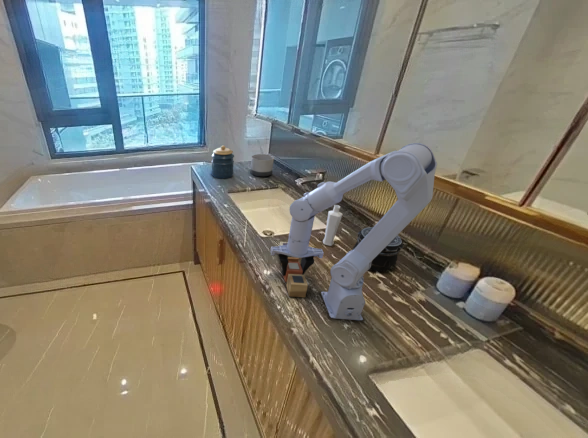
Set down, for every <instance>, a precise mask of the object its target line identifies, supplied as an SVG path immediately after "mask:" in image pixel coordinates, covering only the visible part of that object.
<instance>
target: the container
mask: <svg viewBox="0 0 588 438" xmlns="http://www.w3.org/2000/svg"><path fill="white" fill-rule="evenodd" d="M373 227H374V226H373ZM373 227H371V226H370V227H364V228H363V229H361V230H359V231H358V232H357V238H356V242H355V244H354V245H353V247H352V250H354V249H355V248H356V247H357V245H358V244H359V243H360V242H361V241H362V240H363V239H364V238H365V236H366V235H367V234H368V233H369V232H370V231H371V230H372V229H373ZM403 248H404V243H403V241H402V239H401V237H400V236H399V234H398V235H397V236H396V237H395V238H394V239H393V240H392V241H391V242H390V243H389V244H388V245H387V246H386V247H385V248H384V249H383V250H382V251H381V252H380V253H379V254H378V255H377V256H376V257H375V258H374V259H373V260H372V262H371V267H370V269H369V270H371V271H374V272H387V271H390V270H391V268H392V267H393V266H394V265H396V264H397V262H398V255H399V253H400V252H401V250H402V249H403Z"/></svg>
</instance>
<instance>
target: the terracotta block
mask: <svg viewBox="0 0 588 438" xmlns="http://www.w3.org/2000/svg"><path fill="white" fill-rule="evenodd" d="M300 264H301V261H298V262H288V265H287V268H286V275H285V276H283V279H284V282H285V283H287V279H288V274H300V275H302V273H303V270H302V267H301V265H300Z"/></svg>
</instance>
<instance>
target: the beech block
mask: <svg viewBox="0 0 588 438" xmlns="http://www.w3.org/2000/svg"><path fill="white" fill-rule="evenodd" d="M287 256H288V255H287ZM288 261H289V262H300V258H296V257H292V256H288ZM280 266H281V267H282V264H281V263H280Z"/></svg>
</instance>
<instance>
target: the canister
mask: <svg viewBox="0 0 588 438" xmlns="http://www.w3.org/2000/svg"><path fill="white" fill-rule="evenodd" d="M211 158H212V160H211V176H212V177H213V178H217V179H229V178H232V177H233V176H234V165H235V164H234V163H235V160H234V158H235V154H234V151H233V150H232V149H231V148H229V147H226V145H221V146H220V147H217V148H216V149H213V151H212V155H211Z"/></svg>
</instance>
